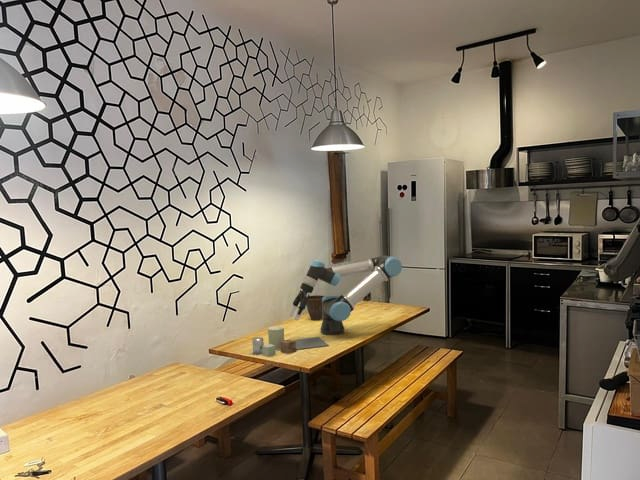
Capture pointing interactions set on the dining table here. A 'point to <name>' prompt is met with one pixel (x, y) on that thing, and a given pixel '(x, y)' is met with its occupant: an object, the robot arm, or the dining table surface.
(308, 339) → the charcoal mat
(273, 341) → the can
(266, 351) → the sage block
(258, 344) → the grey tin
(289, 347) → the walnut block
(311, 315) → the plant pot
